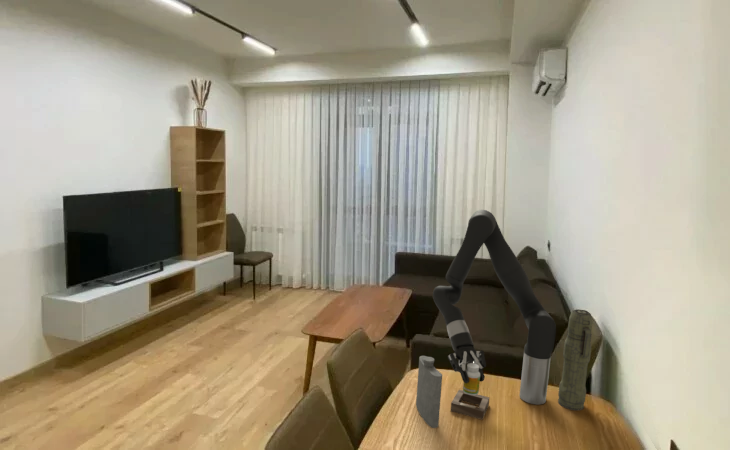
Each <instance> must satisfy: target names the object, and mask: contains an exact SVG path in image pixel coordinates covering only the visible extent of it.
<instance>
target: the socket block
mask: <svg viewBox="0 0 730 450" xmlns="http://www.w3.org/2000/svg"><path fill="white" fill-rule="evenodd" d="M463 402H464V403H463ZM468 403H469V404H468ZM471 404H472V405H471ZM475 405H476V406H475ZM489 405H490V396H485V395H483V394H479V393H478V394H477V395H468V394H466V393H464V391H463V389H458V390H457V392H456V394H455V395H454V397H453V399H452V400H451V403H450V412H452V413H457V414H459V415H460V414H461V415H463V416H467V417H470V418H474V419H478V420H482V421H483V420H484V418H485V416H486V412H487V410H488V407H489Z"/></svg>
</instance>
